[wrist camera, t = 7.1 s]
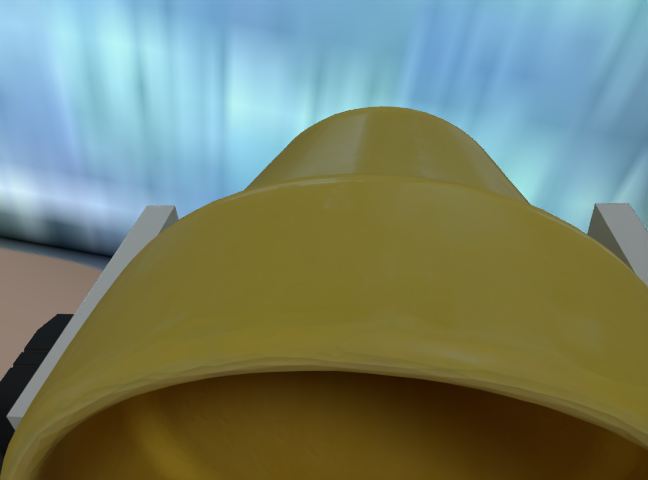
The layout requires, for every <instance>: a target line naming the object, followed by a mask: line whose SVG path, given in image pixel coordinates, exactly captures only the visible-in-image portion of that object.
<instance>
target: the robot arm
mask: <svg viewBox="0 0 648 480" xmlns="http://www.w3.org/2000/svg"><path fill="white" fill-rule="evenodd" d="M178 220H179V219H178V215H177V211H176V208H175V206H146V208H145V209H144V211H143V212H142V214H141V215H140V217H139V218H138V220H137V221H136V223H135V224H134V226H133V227H132V229H131V230H130V232H129V233H128V235H127V236H126V238H125V239H124V241H123V242H122V244H121V245H120V247H119V248H118V250H117V251H116V253H115V254H114V256H113V257H112V259H111V260H110V262H109V263H108V265H107V266H106V268H105V269H104V271H103V272H102V274H101V276H100V277H99V278H98V280H97V281H96V283H95V284H94V286H93V287H92V289H91V290H90V292H89V294H88V295H87V296H86V298H85V299H84V301H83V302H82V304H81V305H80V307H79V308H78V310H77V311H76V313H75V314H57V315H56V316H55V317H53V318H52V319H51V320H50V321H48V322H47V323H46V324H45V325H43V326H42V327H41V328H40V329H38V330H37V332H36V333H35V334H34V336H33V337H32V339H31V340H30V341H29V343H28V344H27V345H26V347H25V348H24V352H22V353H21V354H20V355H19V357H18V358H17V359H16V361H15V362H14V364H13V368H10V369H9V370H8V372H7V373H6V375H5V376H4V378H3V379H2V380H1V381H0V475H1V470H2V465H3V460H4V457H5V454H6V451H7V448H8V445H9V443H10V441H11V439H12V437H13V435H14V432H15V430H16V428H17V427H18V425H19V423H20V421H21V420H22V418H23V416H24V414H25V413H26V411H27V409H28V407H29V406H30V404H31V402H32V401H33V399H34V398H35V396H36V394H37V393H38V391H39V390H40V388H41V387H42V385H43V384H44V382H45V381H46V379H47V377H48V376H49V374H50V373H51V371H52V370H53V368H54V367H55V365H56V364H57V362H58V361H59V359H60V357H61V356H62V354H63V353H64V351H65V350H66V348H67V347H68V345H69V344H70V342H71V341H72V339H73V338H74V337H75V335H76V334H77V332H78V331H79V329H80V328H81V327H82V325H83V324H84V322H85V321H86V319H87V318H88V317H89V315H90V314H91V312H92V311H93V309H94V308H95V307H96V305H97V304H98V302H99V301H100V300H101V298H102V297H103V296H104V294H105V293H106V292H107V290H108V289H109V288H110V286H111V285H112V284H113V283H114V281H115V280H116V279H117V277H118V276H119V275H120V273H121V272H122V271H123V269H124V268H125V267H126V266H127V265H128V264H129V263H130V261H131V260H132V259H133V258H134V257H135V256H136V255H137V254H138V253H139V252H140V251H141V250H142V249H143V248H144V247H145V246H146V245H147V244H148V243H149V242H150V241H151V240H153V239H154V238H155V237H156V236H157V235H159V234H160V233H161V232H162V231H164V230H165V229H167V228H168V227H169V226H171V225H172V224H174V223H175V222H177V221H178ZM587 235H589V236H590V237H592V238H593V239H595V240H596V241H598V242H599V243H601V244H602V245H603V246H605V247H606V248H607V249H609V250H610V251H611V252H613V253H614V254H615V255H616V256H617V257H618V258H620V259H621V260H622V261H623V262H624V263H625V264H626V265H627V266H628V267H629V268H630V269H631V270H632V271H633V272H634V273H635V274H636V275H637V276H638V277H639V278H640V279H641V280H642V281H643V282H644V283H645V284H646V285H647V286H648V231H647V230H646V228H645V227H644V225H643V224H642V222H641V221H640V219H639V218H638V216H637V215H636V213H635V212H634V210H633V209H632V207H631V206H630V204H629V203H600V204H595V206H594V210H593V214H592V218H591V222H590V226H589V230H588V234H587Z"/></svg>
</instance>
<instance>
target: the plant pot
mask: <svg viewBox="0 0 648 480" xmlns="http://www.w3.org/2000/svg"><path fill="white" fill-rule="evenodd" d="M0 480H648V286H647V285H646V284H645V283H644V282H643V281H642V280H641V279H640V278H639V277H638V276H637V275H636V274H635V273H634V272H633V271H632V270H631V269H630V268H629V267H628V266H627V265H626V264H625V263H624V262H623V261H622V260H621V259H620V258H618V257H617V256H616V255H615V254H614V253H613V252H611V251H610V250H609V249H607V248H606V247H605V246H603V245H602V244H601V243H599V242H598V241H596V240H595V239H593V238H592V237H590V236H589V235H587V234H585V233H584V232H582V231H581V230H579V229H578V228H576V227H574V226H573V225H571V224H569V223H567V222H565V221H563V220H561V219H559V218H558V217H556V216H554V215H552V214H550V213H548V212H546V211H544V210H542V209H540V208H537V207H535V206H532V205H531V204H530V203H529V202H528V201H527V200H526V199H525V197H524V196H523V195H522V194H521V193H520V192H519V191H518V189H517V188H516V187H515V186H514V185H513V184H512V183H511V181H510V180H509V179H508V178H507V177H506V175H505V174H504V173H503V172H502V171H501V169H500V168H499V167H498V166H497V165H496V163H495V162H494V161H493V160H492V159H491V158H490V156H489V155H488V154H487V153H486V152H485V151H484V149H483V148H482V147H481V146H480V145H479V144H478V143H477V142H476V141H475V140H474V139H473V138H471V137H470V136H469V135H468V134H466V133H465V132H464V131H462V130H461V129H459V128H458V127H456V126H454V125H453V124H451V123H449V122H447V121H445V120H443V119H441V118H438V117H436V116H433V115H431V114H428V113H426V112H422V111H417V110H413V109H408V108H400V107H383V106H381V107H368V108H360V109H354V110H348V111H345V112H341V113H338V114H335V115H333V116H330V117H328V118H326V119H324V120H322V121H320V122H318V123H316V124H314V125H313V126H311V127H309V128H308V129H306V130H305V131H303V132H302V133H300V134H299V135H298V136H297V137H296V138H294V139H293V140H292V141H291V142H290V144H289V145H288V146H287V147H286V148H285V149H284V150H283V151H282V152H281V153H280V154H279V155H278V156H277V157H276V158H275V159H274V160H273V161H272V162H271V163H270V164H269V165H268V166H267V167H266V168H265V169H264V170H263V171H262V172H261V173H260V174H259V175H258V176H257V177H256V179H255V180H254V181H253V182H252V183H251V184H250V185H249V186H248V187H247V188H246V189H245V190H244V191H241V192H238V193H236V194H233V195H230V196H227V197H225V198H222V199H219V200H216V201H214V202H211V203H209V204H207V205H205V206H203V207H201V208H199V209H197V210H195V211H194V212H192V213H190V214H188V215H186V216H185V217H183V218H181V219H180V220H178V221H177V222H175V223H174V224H172V225H171V226H169V227H168V228H167V229H165V230H164V231H162V232H161V233H160V234H159V235H157V236H156V237H155V238H154V239H153V240H151V241H150V242H149V243H148V244H147V245H146V246H145V247H144V248H143V249H142V250H141V251H140V252H139V253H138V254H137V255H136V256H135V257H134V258H133V259H132V260H131V261H130V263H129V264H128V265H127V266H126V267H125V268H124V269H123V271H122V272H121V273H120V275H119V276H118V277H117V279H116V280H115V281H114V283H113V284H112V285H111V286H110V288H109V289H108V290H107V292H106V293H105V294H104V296H103V297H102V298H101V300H100V301H99V302H98V304H97V305H96V307H95V308H94V309H93V311H92V312H91V314H90V315H89V317H88V318H87V319H86V321H85V322H84V324H83V325H82V327H81V328H80V329H79V331H78V332H77V334H76V335H75V337H74V338H73V339H72V341H71V342H70V344H69V345H68V347H67V348H66V350H65V351H64V353H63V354H62V356H61V357H60V359H59V361H58V362H57V364H56V365H55V367H54V368H53V370H52V371H51V373H50V374H49V376H48V377H47V379H46V381H45V382H44V384H43V385H42V387H41V388H40V390H39V391H38V393H37V394H36V396H35V398H34V399H33V401H32V402H31V404H30V406H29V407H28V409H27V411H26V413H25V414H24V416H23V418H22V420H21V421H20V423H19V425H18V427H17V428H16V430H15V432H14V435H13V437H12V439H11V441H10V443H9V445H8V448H7V451H6V454H5V457H4V460H3V465H2V470H1V475H0Z"/></svg>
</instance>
